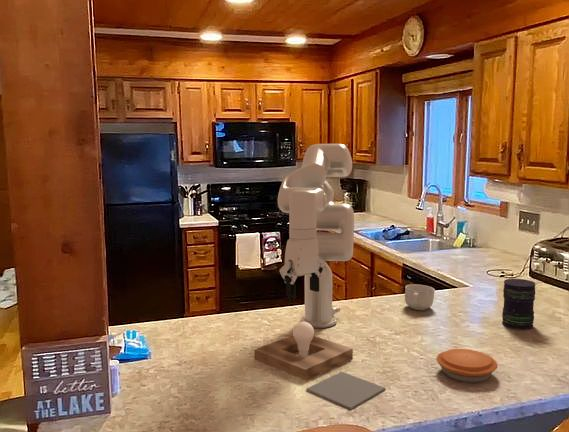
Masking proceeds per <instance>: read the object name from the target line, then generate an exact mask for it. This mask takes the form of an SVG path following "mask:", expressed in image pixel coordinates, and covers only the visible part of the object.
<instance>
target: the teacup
mask: <svg viewBox="0 0 569 432" xmlns="http://www.w3.org/2000/svg"><path fill="white" fill-rule="evenodd" d="M404 288H405V290H404V301H405V303H406V305H407V306H408V307H409V308H410V309H413V310H415V311H426V310H428V309H429V308H431V307H432V306H433V303H434V299H435V292H436V291H435V290H436V289H435V288H434V287H432V286H429V285H423V284H416V283H415V284H407V285H405V287H404Z"/></svg>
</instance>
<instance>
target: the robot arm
mask: <svg viewBox="0 0 569 432" xmlns="http://www.w3.org/2000/svg"><path fill="white" fill-rule="evenodd" d="M352 169H353V159H352V156H351V152H350V150H349V148H348V147H347V146H346V145H345V144H342V143H315V144H312V145H310V146H308V148H307V149H306V151H305V154H304V157H303V159H302V164H301V167H299V168H298V169H295V170H294V171H293V172H291V173H289V174H287V175H286V176H285V177H284V179H283V180H282V182H281V185H280V187H279V191H278V194H277V195H278V196H277V207H278V208H279V210H280V211H281V212H282V213H285V214H289V220H288V222H289V226H288V227H289V228H288V229H289V230H288V231H289V232H288V233H289V239H287V241H286V245H285V246H286V247H285V252H284V265H283V266H281V268H280V269H279V273H280V275H281V279H282V280H283V281H284V283H285V291H286V292H285V295H286V297H287V298H291V299H295V298H297V284H296V283H295V282H296V280H297V278H298V277H302V276H304V315H302V316H301V317H300V322H307V323H309V324H311V325H312V327H313V329H314V328H315V329H322V328H330V327H333V326H335V325H336V324H337V318H336V316H335V314H337V313H339V312H340V311H341V308H340V307H339V306H335V307H333V272H332V269H331V268H330V266H329V265H328V263H327V262H329V261H330V262H347V261H350V260H351V259H352V258H353V256H354V255H353V254H354V242H355V238H354V236H355V213H354V212H355V211H354V208H353V207H352V206H351V205H350V204H348V203H343V202H342V203H341V202H340V203H339V202H337V203H336V202H335V203H334V198H335V197H334V196H335V193H334V189H333V187H332V186H331V184H329V182H328V181H327V177H328V178H334V177H335V178H338V177H339V178H345V177H349V175H350V174H351V172H352ZM318 231H319V232H318ZM321 231H333V232H321ZM335 231H338V232H335ZM326 261H327V262H326Z"/></svg>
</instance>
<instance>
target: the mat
mask: <svg viewBox="0 0 569 432" xmlns="http://www.w3.org/2000/svg"><path fill="white" fill-rule="evenodd" d="M385 390H386V387H384V386H381V385H378V384H376V383H375V382H372V381H368V380H365V379H363V378H360V377H357V376H355V375H352V374H349V373H347V372H344V371H340V372H338V373H336V374H333V375H332V376H330V377H327V378H326V379H323V380H321V381H319V382H318V383H316V384H313V385H311V386H309V387H307V388H306V391H307V392H309V393H311V394H314V395H316V396H318V397H320V398H323V399H325V400H328V401H329V402H332V403H334V404H337V405H339V406H340V407H344V408H345V409H349V410H353V409H354V408H355V409H356V408H357V407H358V406H360V405H363V403H365V402H367V401H368V400H371V399H372V398H374V397H375V396H377V395H379V394H381V393H383V392H384V391H385Z"/></svg>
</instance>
